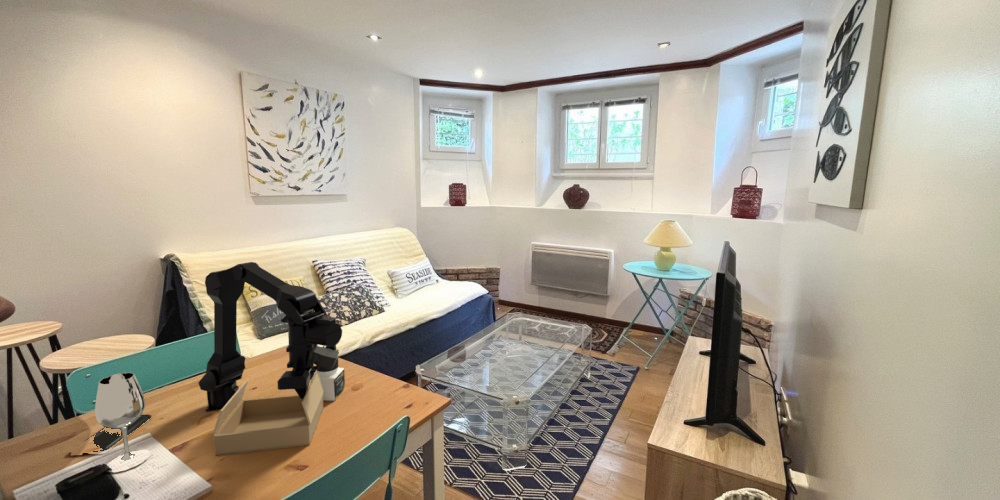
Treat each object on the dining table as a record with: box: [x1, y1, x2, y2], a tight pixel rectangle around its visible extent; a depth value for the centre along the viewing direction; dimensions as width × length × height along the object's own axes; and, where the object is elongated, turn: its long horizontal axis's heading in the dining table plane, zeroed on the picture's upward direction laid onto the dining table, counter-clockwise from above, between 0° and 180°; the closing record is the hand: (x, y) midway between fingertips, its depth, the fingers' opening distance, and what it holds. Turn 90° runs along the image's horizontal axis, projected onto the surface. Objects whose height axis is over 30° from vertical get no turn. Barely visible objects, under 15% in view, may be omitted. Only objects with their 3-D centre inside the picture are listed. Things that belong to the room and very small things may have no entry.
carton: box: [213, 394, 324, 457], centre depth 99 cm, size 20×16×5 cm
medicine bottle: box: [310, 357, 346, 402], centre depth 116 cm, size 7×7×12 cm
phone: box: [84, 413, 152, 452], centre depth 96 cm, size 8×1×15 cm
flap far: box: [302, 372, 324, 424], centre depth 100 cm, size 6×15×1 cm
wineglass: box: [94, 371, 146, 461], centre depth 86 cm, size 8×8×20 cm
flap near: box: [212, 378, 249, 436], centre depth 96 cm, size 6×15×1 cm
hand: (303, 398), depth 100 cm, fingers closed, pressing on flap far
